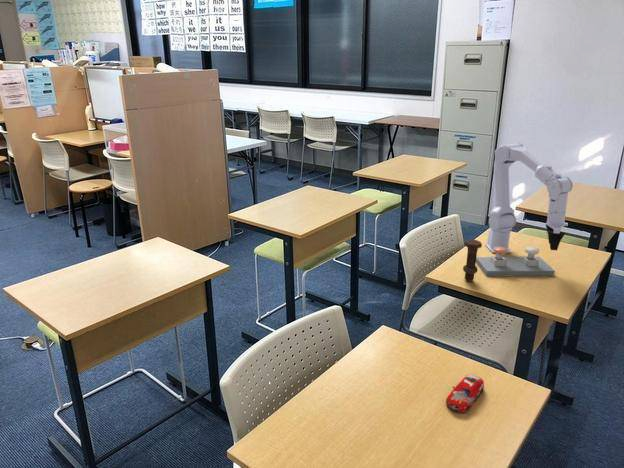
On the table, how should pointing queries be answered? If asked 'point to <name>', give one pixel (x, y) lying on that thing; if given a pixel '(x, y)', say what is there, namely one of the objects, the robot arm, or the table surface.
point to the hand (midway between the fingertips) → (552, 246)
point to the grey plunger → (531, 251)
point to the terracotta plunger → (500, 252)
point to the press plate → (514, 266)
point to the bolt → (471, 259)
